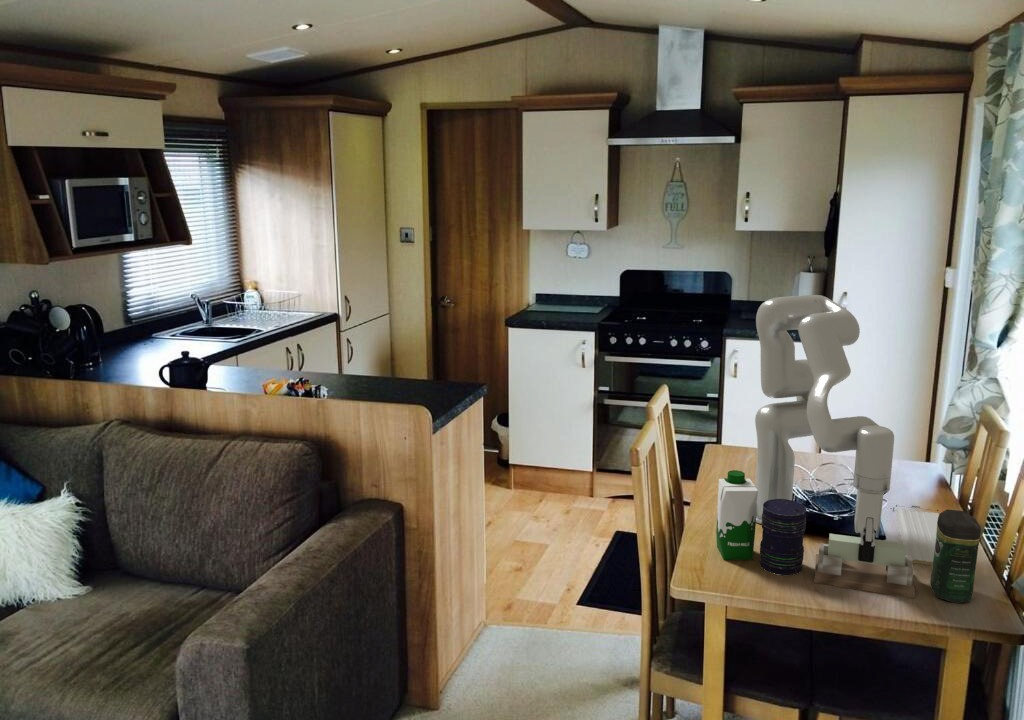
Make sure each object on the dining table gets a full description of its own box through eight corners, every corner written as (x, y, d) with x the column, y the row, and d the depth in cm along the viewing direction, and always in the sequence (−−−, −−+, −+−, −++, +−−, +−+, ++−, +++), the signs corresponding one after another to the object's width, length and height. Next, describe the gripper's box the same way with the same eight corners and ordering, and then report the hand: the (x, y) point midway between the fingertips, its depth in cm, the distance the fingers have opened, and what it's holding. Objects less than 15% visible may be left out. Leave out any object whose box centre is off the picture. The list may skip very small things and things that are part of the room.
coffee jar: (976, 606, 183) (986, 526, 179) (936, 602, 185) (945, 522, 181) (964, 584, 192) (974, 508, 188) (926, 581, 194) (935, 504, 190)
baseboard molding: (900, 563, 204) (956, 570, 200) (901, 552, 203) (957, 559, 199) (889, 512, 232) (937, 518, 229) (890, 502, 232) (938, 508, 228)
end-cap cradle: (814, 582, 194) (816, 560, 193) (815, 559, 205) (817, 538, 203) (914, 598, 187) (916, 575, 185) (910, 573, 198) (912, 551, 196)
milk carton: (747, 545, 213) (752, 469, 208) (757, 561, 204) (762, 483, 199) (712, 545, 213) (715, 469, 208) (720, 562, 204) (724, 483, 199)
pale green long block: (827, 557, 196) (829, 539, 195) (828, 551, 199) (829, 533, 198) (904, 568, 190) (906, 549, 189) (903, 561, 193) (905, 543, 192)
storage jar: (751, 567, 201) (755, 508, 198) (769, 552, 209) (772, 495, 205) (792, 580, 195) (797, 519, 192) (809, 564, 202) (813, 505, 199)
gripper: (853, 467, 199) (847, 540, 203) (854, 492, 184) (847, 570, 188) (888, 470, 196) (881, 544, 201) (892, 496, 181) (884, 576, 185)
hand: (865, 556), depth 194 cm, fingers closed on pale green long block, 3 cm apart
